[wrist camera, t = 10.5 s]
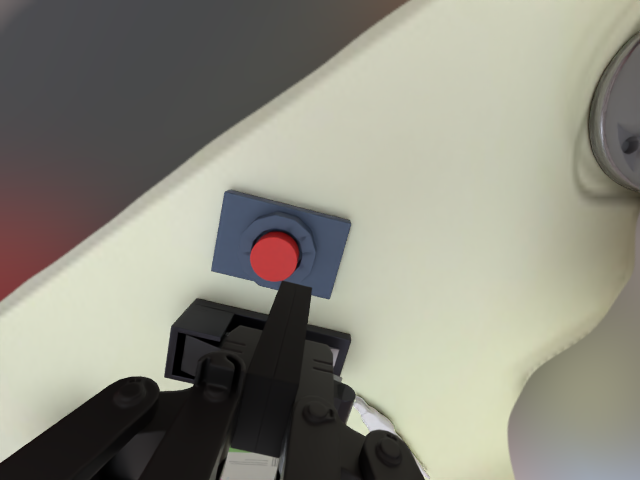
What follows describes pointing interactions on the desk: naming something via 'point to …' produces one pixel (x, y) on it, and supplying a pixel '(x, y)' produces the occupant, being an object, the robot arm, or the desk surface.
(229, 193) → the button housing
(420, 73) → the desk surface
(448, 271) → the desk surface
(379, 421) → the white tapered shape
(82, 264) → the desk surface
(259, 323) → the stapler base
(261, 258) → the call button
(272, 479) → the ink box
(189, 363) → the stapler arm
